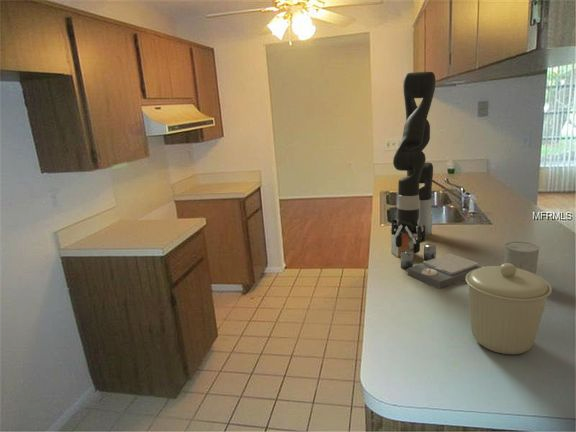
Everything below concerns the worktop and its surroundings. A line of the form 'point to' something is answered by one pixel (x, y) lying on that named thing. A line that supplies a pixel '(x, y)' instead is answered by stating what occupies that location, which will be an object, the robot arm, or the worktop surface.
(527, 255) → the grey round cylinder
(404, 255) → the cylinder
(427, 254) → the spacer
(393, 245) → the small box
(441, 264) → the shower mixer plate
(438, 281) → the scale
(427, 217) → the robot arm
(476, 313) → the canister
